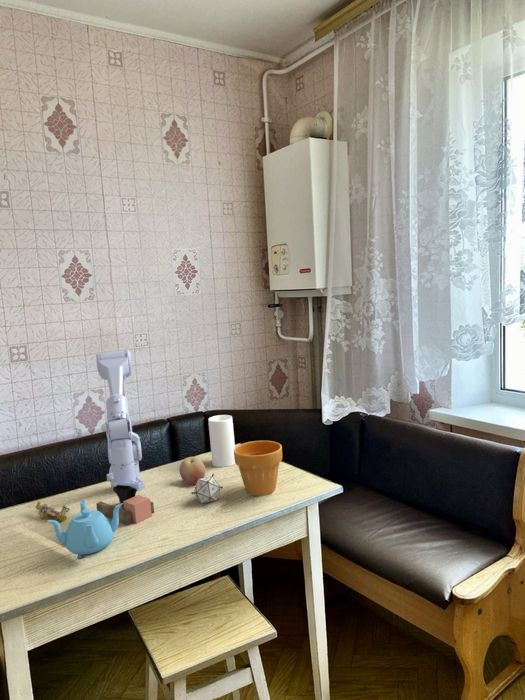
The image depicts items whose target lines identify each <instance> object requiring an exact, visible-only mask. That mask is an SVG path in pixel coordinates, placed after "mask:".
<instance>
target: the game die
mask: <svg viewBox="0 0 525 700" xmlns="http://www.w3.org/2000/svg"><path fill="white" fill-rule="evenodd" d="M214 475H215V474H214V473H212V475H211V476H206V477H205V476H204V478H200V479H198V478H197V477H196V479H197V482H196V484H195V485H194V486H195V487H194V489H193V491H192V492H191V493H190V494H192V495H193V494H194V496H195V497H196V499H197V501H198V502H199V503H200V504H202V505H203V504H207V503H211V502H212V503H213V502H216V501H218V498H219V495H220V491H221V489H223V488H224V486H220V484H219V483H218V481H217V480H216V479H215V477H214Z"/></svg>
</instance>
